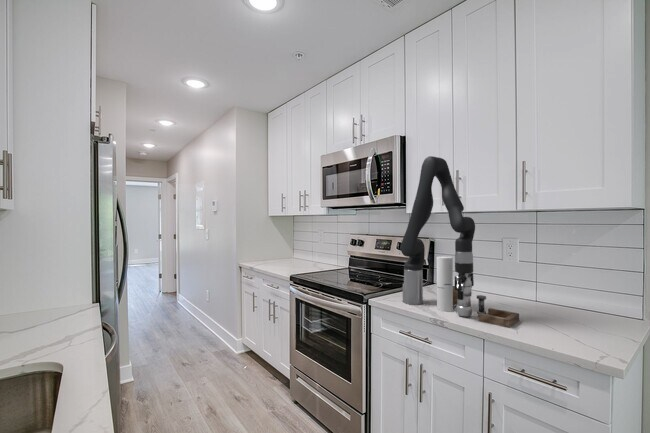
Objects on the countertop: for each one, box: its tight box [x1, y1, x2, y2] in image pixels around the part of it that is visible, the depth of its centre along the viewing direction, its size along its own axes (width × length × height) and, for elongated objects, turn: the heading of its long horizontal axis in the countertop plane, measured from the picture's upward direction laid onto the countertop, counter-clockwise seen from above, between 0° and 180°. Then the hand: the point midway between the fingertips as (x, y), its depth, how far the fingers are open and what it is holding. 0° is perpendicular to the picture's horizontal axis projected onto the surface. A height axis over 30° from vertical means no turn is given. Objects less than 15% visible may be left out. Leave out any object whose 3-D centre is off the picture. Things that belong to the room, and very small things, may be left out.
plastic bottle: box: [455, 273, 473, 318], centre depth 145 cm, size 6×7×20 cm
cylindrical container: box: [436, 255, 454, 312], centre depth 156 cm, size 7×7×25 cm
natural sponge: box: [453, 285, 458, 307], centre depth 163 cm, size 9×9×10 cm
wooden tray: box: [477, 307, 520, 329], centre depth 139 cm, size 12×13×3 cm
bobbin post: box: [476, 294, 487, 315], centre depth 149 cm, size 4×4×8 cm
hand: (464, 298), depth 145 cm, fingers open, 8 cm apart
